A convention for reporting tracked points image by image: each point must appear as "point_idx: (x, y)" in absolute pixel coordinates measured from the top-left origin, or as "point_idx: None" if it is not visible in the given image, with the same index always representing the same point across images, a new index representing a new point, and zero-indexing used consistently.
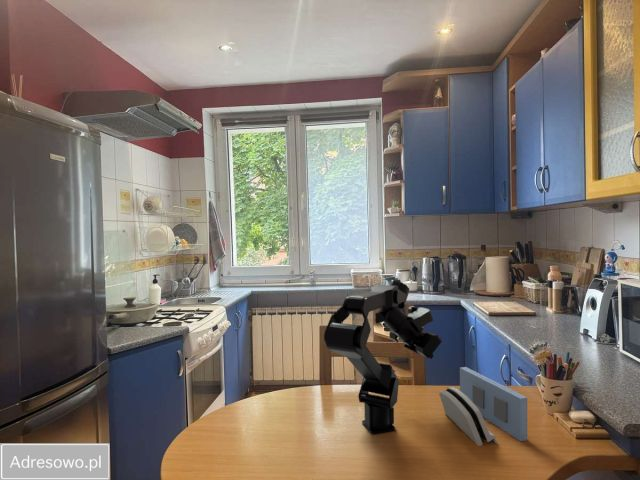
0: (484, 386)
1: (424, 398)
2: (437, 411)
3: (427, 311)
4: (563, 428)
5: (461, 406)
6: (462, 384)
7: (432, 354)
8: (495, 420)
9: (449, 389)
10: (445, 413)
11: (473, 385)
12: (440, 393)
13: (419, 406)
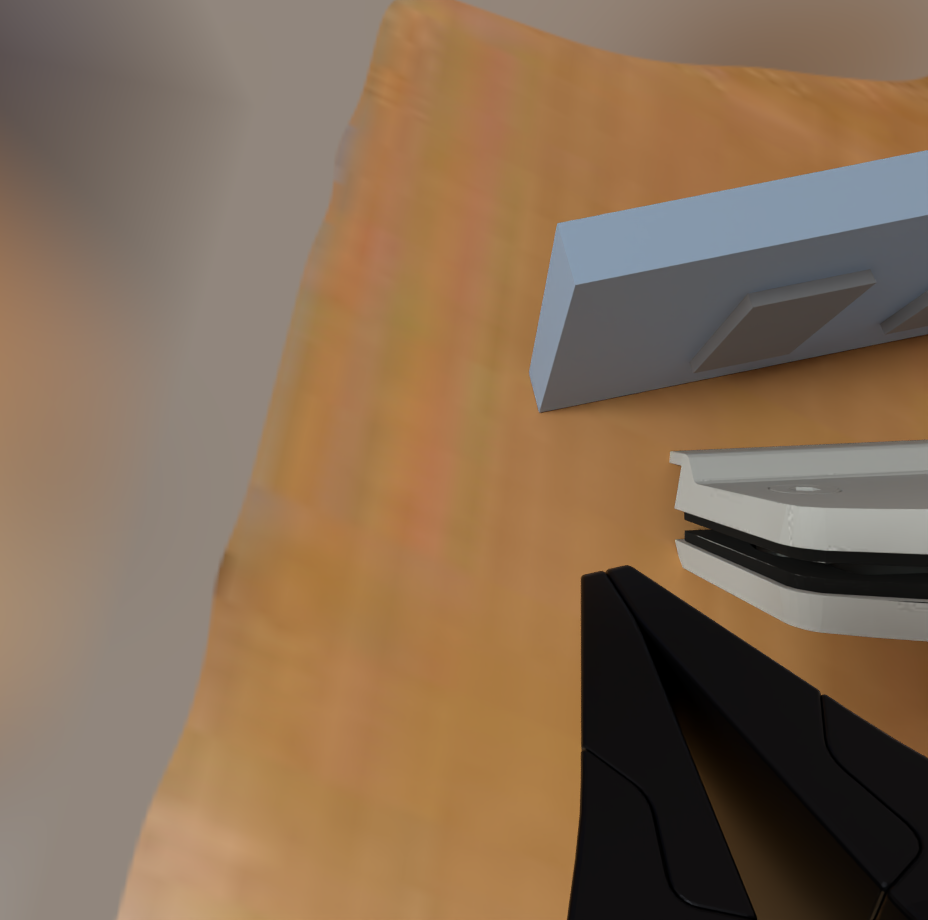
0: (891, 251)
1: (446, 618)
2: None
3: None
4: (856, 82)
5: None
6: (585, 350)
7: (660, 591)
8: (858, 339)
9: (886, 551)
10: (687, 568)
11: (764, 307)
12: (850, 633)
13: (569, 707)
